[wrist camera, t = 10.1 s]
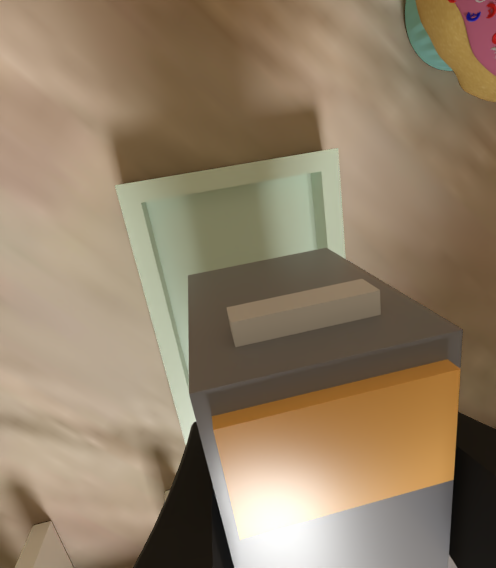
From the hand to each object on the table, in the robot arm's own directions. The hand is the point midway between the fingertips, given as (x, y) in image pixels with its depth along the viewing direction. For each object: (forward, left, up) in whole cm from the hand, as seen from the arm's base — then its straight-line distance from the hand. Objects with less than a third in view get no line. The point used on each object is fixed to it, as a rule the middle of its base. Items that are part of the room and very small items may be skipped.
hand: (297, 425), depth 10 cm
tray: (0, 0, -8) cm, 8 cm away
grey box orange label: (0, +1, -2) cm, 3 cm away
